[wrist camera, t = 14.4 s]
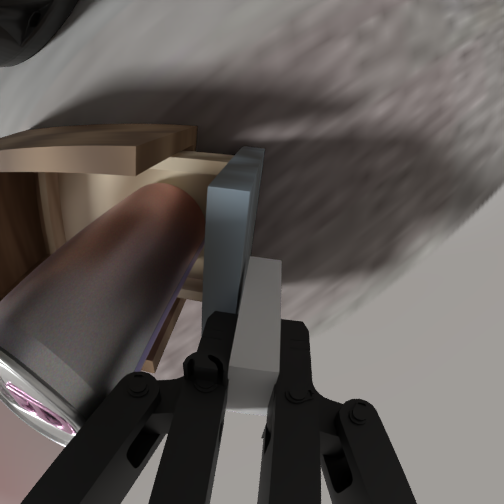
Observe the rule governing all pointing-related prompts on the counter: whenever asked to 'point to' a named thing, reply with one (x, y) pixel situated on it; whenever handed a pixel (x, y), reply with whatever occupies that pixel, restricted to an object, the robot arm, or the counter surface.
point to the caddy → (74, 161)
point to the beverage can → (95, 308)
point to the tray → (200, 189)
